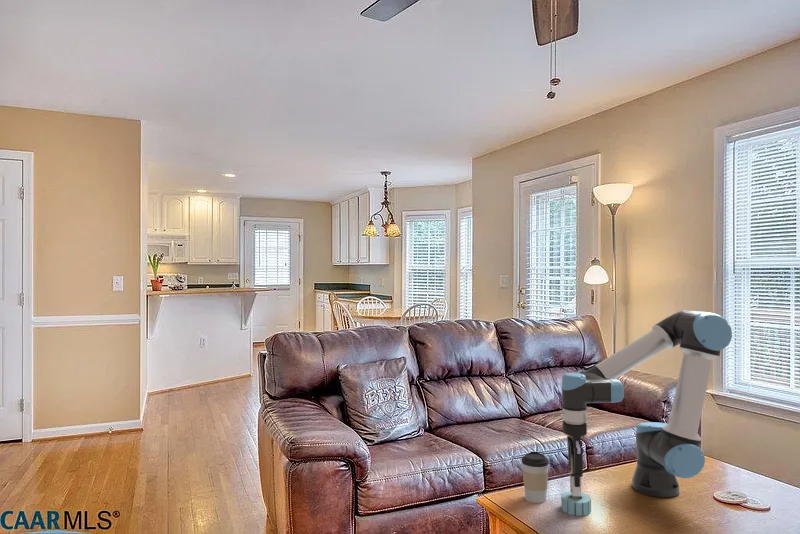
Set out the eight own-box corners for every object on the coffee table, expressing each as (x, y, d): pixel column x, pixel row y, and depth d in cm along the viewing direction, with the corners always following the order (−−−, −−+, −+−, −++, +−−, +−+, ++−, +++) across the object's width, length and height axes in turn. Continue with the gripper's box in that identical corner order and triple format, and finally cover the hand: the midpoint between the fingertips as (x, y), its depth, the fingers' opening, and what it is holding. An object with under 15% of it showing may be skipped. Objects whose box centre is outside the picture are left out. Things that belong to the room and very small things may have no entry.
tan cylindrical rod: (578, 502, 172) (577, 453, 172) (580, 505, 170) (579, 455, 170) (570, 501, 172) (570, 453, 173) (572, 505, 170) (571, 455, 170)
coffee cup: (550, 505, 174) (549, 460, 174) (522, 503, 176) (521, 458, 176) (548, 494, 183) (547, 451, 183) (521, 492, 185) (521, 449, 185)
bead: (587, 503, 175) (587, 491, 175) (593, 516, 166) (593, 503, 166) (559, 502, 176) (559, 490, 176) (564, 515, 167) (564, 502, 167)
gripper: (558, 414, 179) (559, 483, 179) (567, 428, 164) (568, 503, 164) (581, 415, 178) (582, 484, 178) (592, 428, 163) (593, 504, 163)
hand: (575, 493), depth 171 cm, fingers closed on tan cylindrical rod, 2 cm apart
